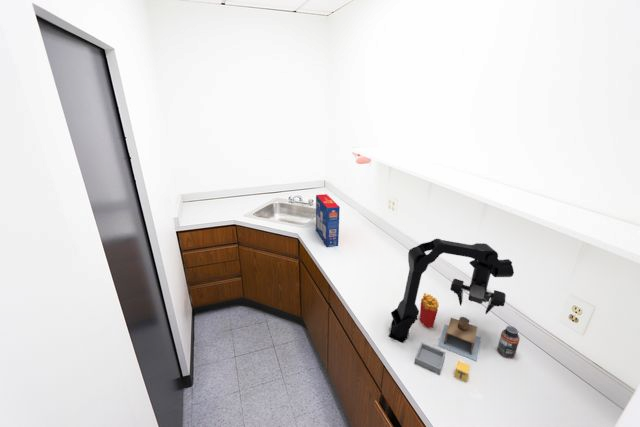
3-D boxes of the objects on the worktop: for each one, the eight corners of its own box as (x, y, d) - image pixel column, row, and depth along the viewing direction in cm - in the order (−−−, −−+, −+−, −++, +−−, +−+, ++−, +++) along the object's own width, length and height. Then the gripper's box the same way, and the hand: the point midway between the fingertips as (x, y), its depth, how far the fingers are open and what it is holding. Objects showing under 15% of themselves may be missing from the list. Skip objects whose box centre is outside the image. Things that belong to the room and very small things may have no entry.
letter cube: (453, 377, 104) (455, 368, 103) (455, 368, 107) (457, 360, 106) (466, 382, 102) (468, 374, 101) (467, 373, 105) (469, 365, 104)
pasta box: (338, 246, 197) (339, 206, 187) (326, 247, 195) (327, 207, 185) (326, 229, 222) (326, 194, 212) (315, 230, 220) (316, 194, 210)
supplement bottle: (508, 346, 117) (515, 323, 113) (518, 358, 112) (525, 335, 108) (493, 346, 117) (500, 323, 113) (502, 358, 111) (509, 335, 107)
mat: (437, 345, 117) (437, 345, 117) (444, 324, 128) (444, 324, 128) (476, 361, 110) (476, 360, 110) (480, 337, 121) (480, 337, 121)
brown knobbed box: (443, 343, 118) (448, 324, 114) (448, 328, 126) (452, 309, 122) (471, 354, 113) (476, 334, 109) (474, 338, 121) (479, 318, 117)
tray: (414, 363, 109) (415, 358, 108) (420, 347, 116) (421, 342, 115) (439, 374, 105) (440, 369, 104) (444, 357, 112) (445, 352, 111)
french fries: (416, 316, 133) (420, 292, 128) (424, 315, 134) (428, 291, 129) (428, 331, 125) (433, 305, 120) (437, 329, 126) (442, 304, 121)
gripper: (451, 278, 111) (444, 312, 117) (508, 295, 102) (498, 330, 107) (456, 265, 120) (449, 297, 125) (509, 279, 110) (500, 313, 116)
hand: (473, 309), depth 118 cm, fingers open, 9 cm apart
